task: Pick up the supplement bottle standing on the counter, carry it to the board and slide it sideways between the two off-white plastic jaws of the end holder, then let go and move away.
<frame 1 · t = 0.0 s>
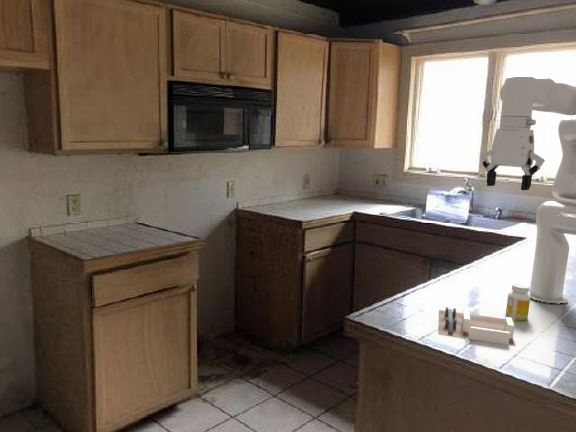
hand: (507, 187, 136), 37 cm above the worktop, tool pointing down, fingers open, 9 cm apart
holder: (486, 330, 131), resting on board
board: (473, 329, 134), on the worktop
supplement bottle: (516, 321, 142), on the worktop
cable run: (450, 322, 135), resting on board
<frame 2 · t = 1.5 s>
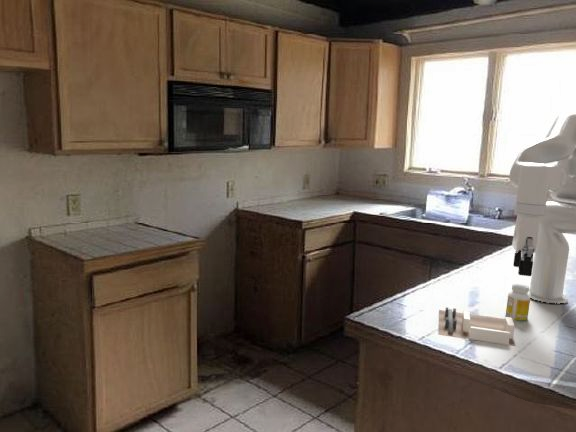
hand: (521, 271, 139), 15 cm above the worktop, tool pointing down, fingers open, 9 cm apart
nothing on the worktop moved.
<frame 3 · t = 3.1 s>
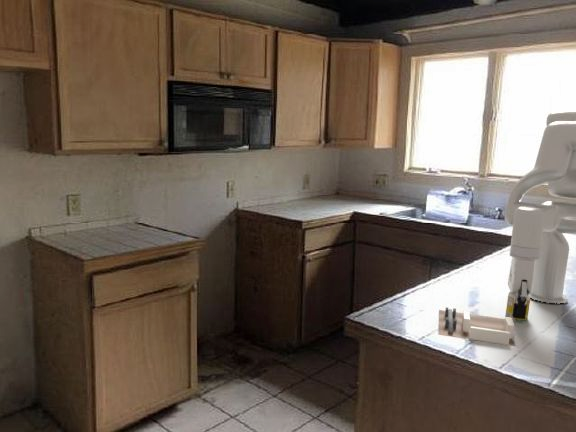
hand: (517, 313, 141), 2 cm above the worktop, tool pointing down, fingers closed on supplement bottle, 5 cm apart
supplement bottle: (516, 321, 142), on the worktop, touching gripper
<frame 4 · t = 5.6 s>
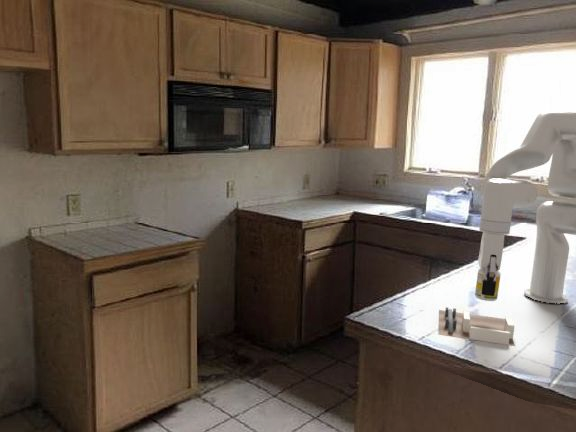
hand: (486, 291, 137), 9 cm above the worktop, tool pointing down, fingers closed on supplement bottle, 5 cm apart
supplement bottle: (485, 298, 137), point 7 cm above the worktop, touching gripper
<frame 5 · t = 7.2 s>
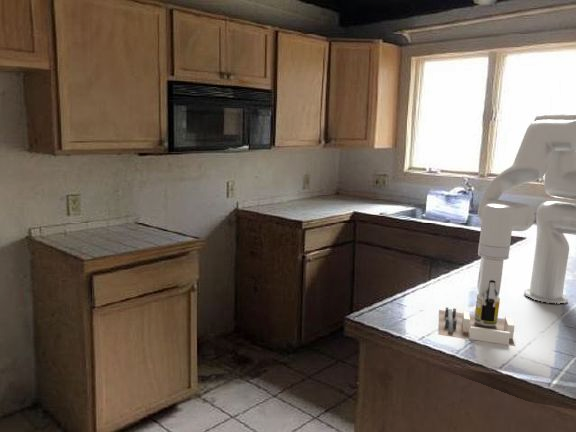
hand: (486, 315, 135), 3 cm above the worktop, tool pointing down, fingers closed on supplement bottle, 5 cm apart
supplement bottle: (485, 323, 135), point 1 cm above the worktop, touching gripper
when the fingers open (3 cm above the worktop, at t = 8.5 s): supplement bottle stays where it is, resting on board.
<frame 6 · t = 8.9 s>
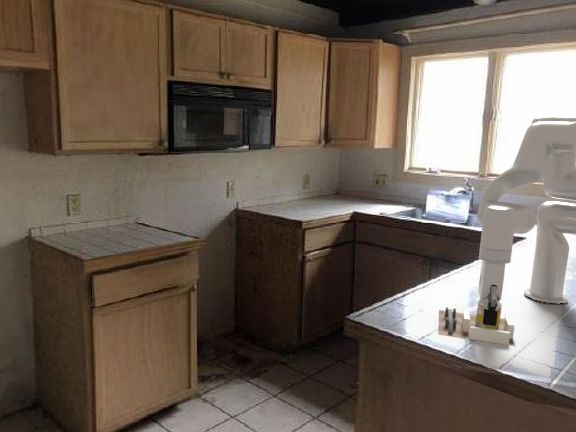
hand: (487, 318, 131), 4 cm above the worktop, tool pointing down, fingers open, 9 cm apart
supplement bottle: (486, 330, 131), point 1 cm above the worktop, touching board
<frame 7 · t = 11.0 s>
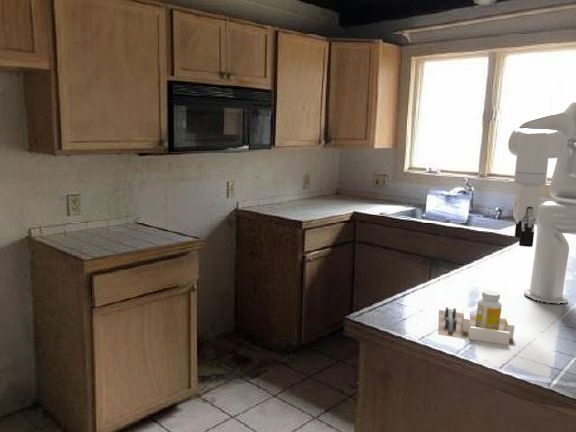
hand: (523, 241, 136), 23 cm above the worktop, tool pointing down, fingers open, 9 cm apart
nothing on the worktop moved.
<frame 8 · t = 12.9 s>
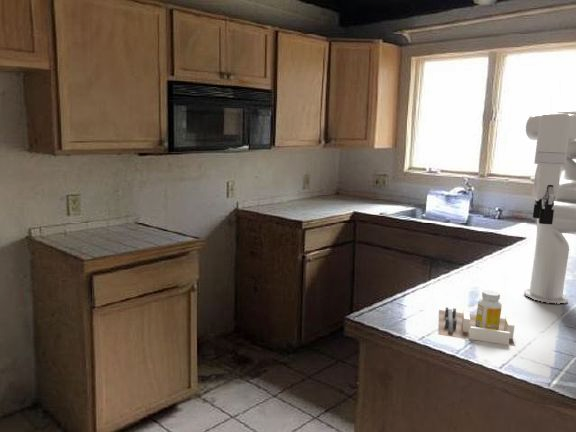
hand: (542, 220, 139), 28 cm above the worktop, tool pointing down, fingers open, 9 cm apart
nothing on the worktop moved.
at the end: supplement bottle inside the target area on the holder (1.2 cm from its centre), point 0.0 cm above the holder's base; supplement bottle tilted 0°; the gripper is holding nothing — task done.
